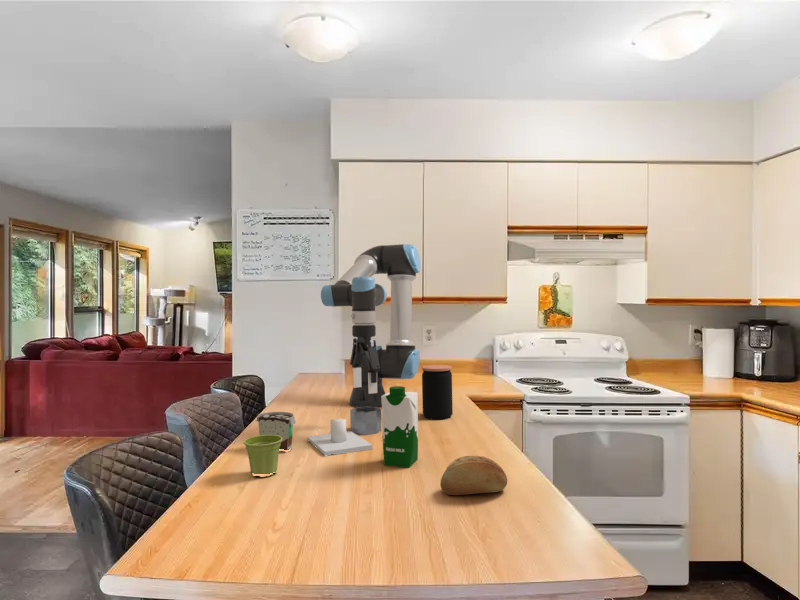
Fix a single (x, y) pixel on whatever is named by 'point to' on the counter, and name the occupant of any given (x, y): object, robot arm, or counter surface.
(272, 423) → the food container
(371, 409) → the collar
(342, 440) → the panel
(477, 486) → the bread roll
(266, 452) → the plant pot
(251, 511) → the counter surface
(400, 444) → the milk carton
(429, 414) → the coffee jar
